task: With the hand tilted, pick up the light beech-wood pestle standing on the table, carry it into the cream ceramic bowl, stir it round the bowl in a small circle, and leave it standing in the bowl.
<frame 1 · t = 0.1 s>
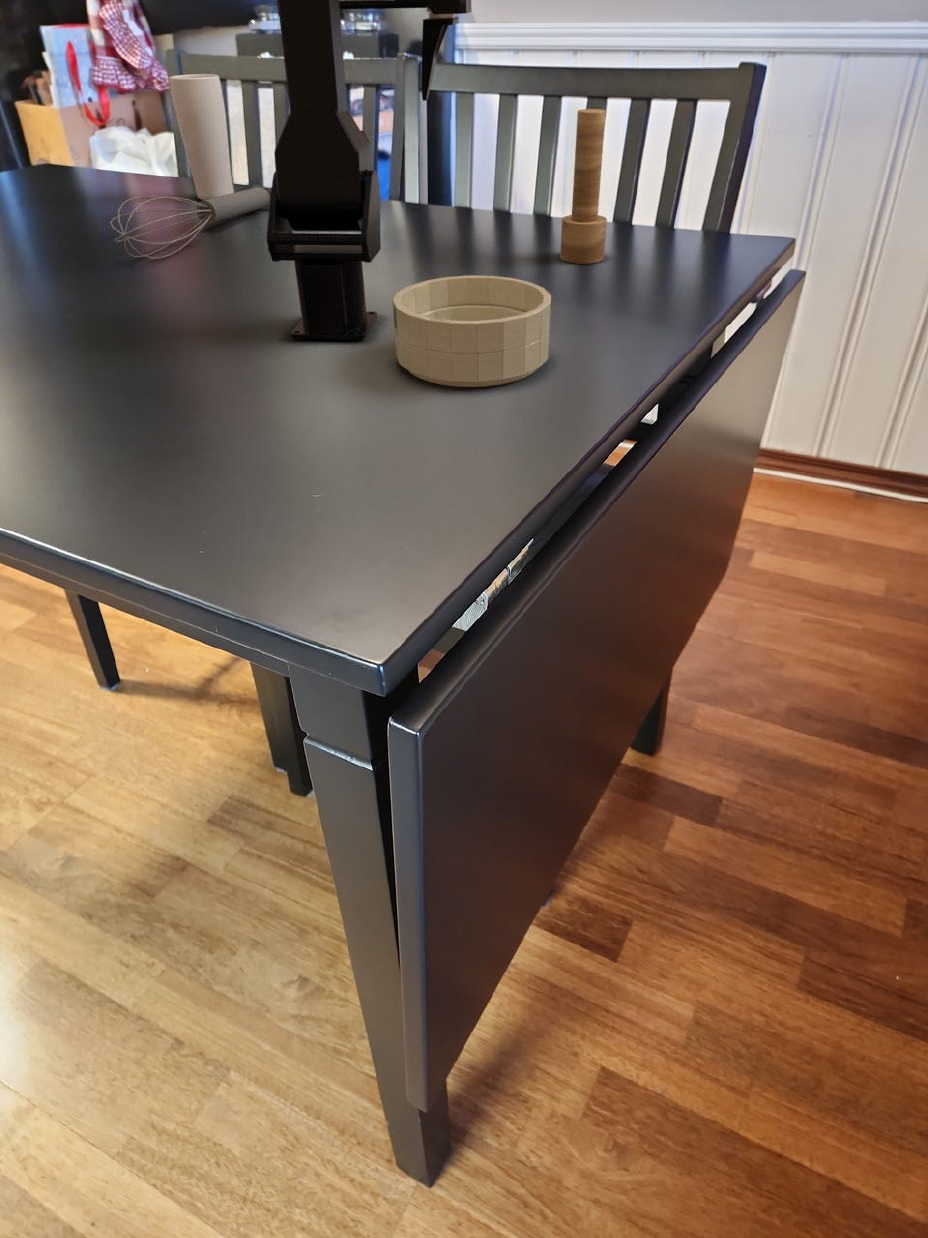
hand: (382, 100, 87), 15 cm above the table, tool pointing down, fingers open, 9 cm apart
pestle: (581, 257, 91), on the table
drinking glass: (216, 199, 121), on the table
kitchen whisk: (205, 234, 104), on the table
bowl: (472, 360, 67), on the table
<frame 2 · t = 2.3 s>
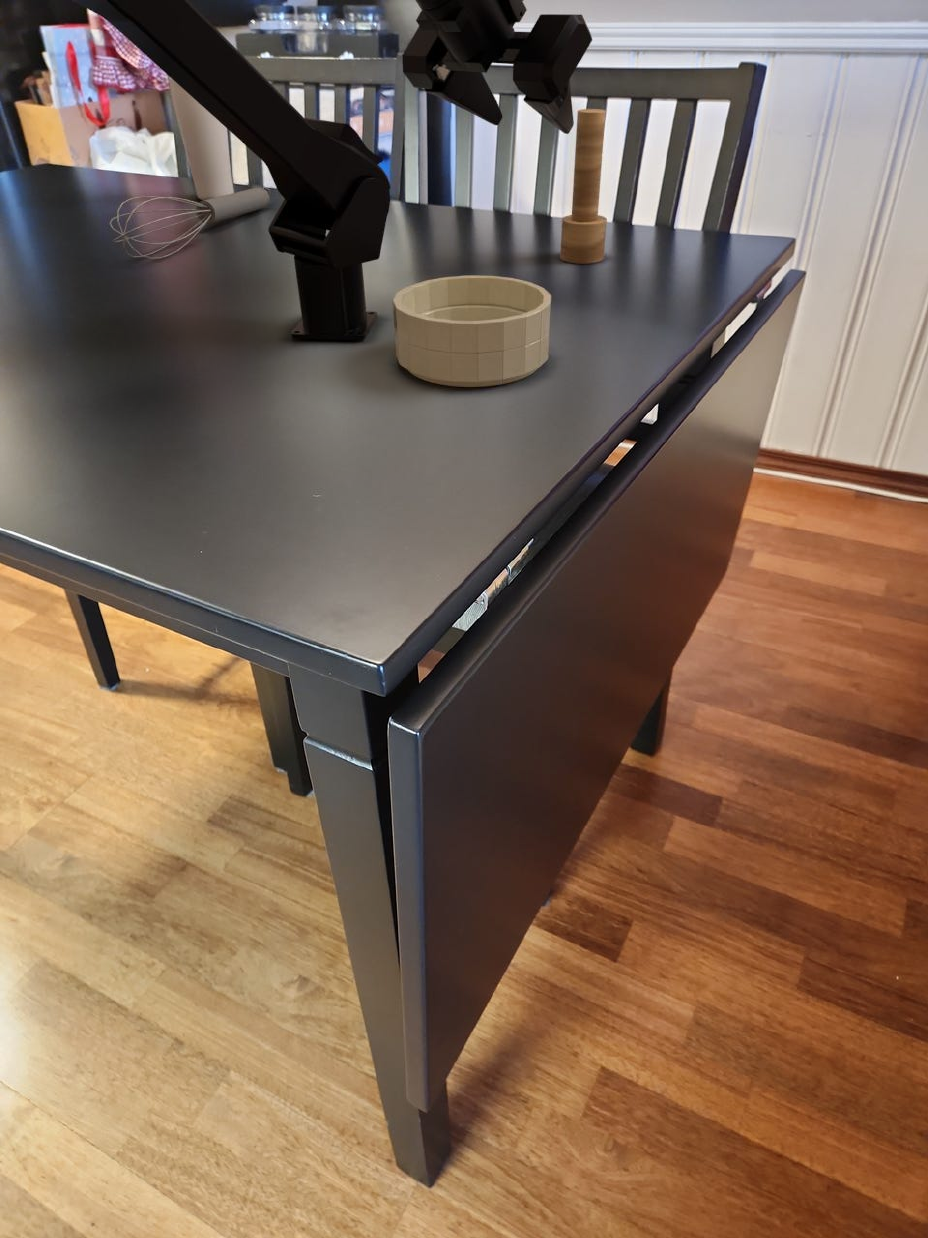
hand: (533, 124, 79), 13 cm above the table, tool tilted 45°, fingers open, 9 cm apart
nothing on the table moved.
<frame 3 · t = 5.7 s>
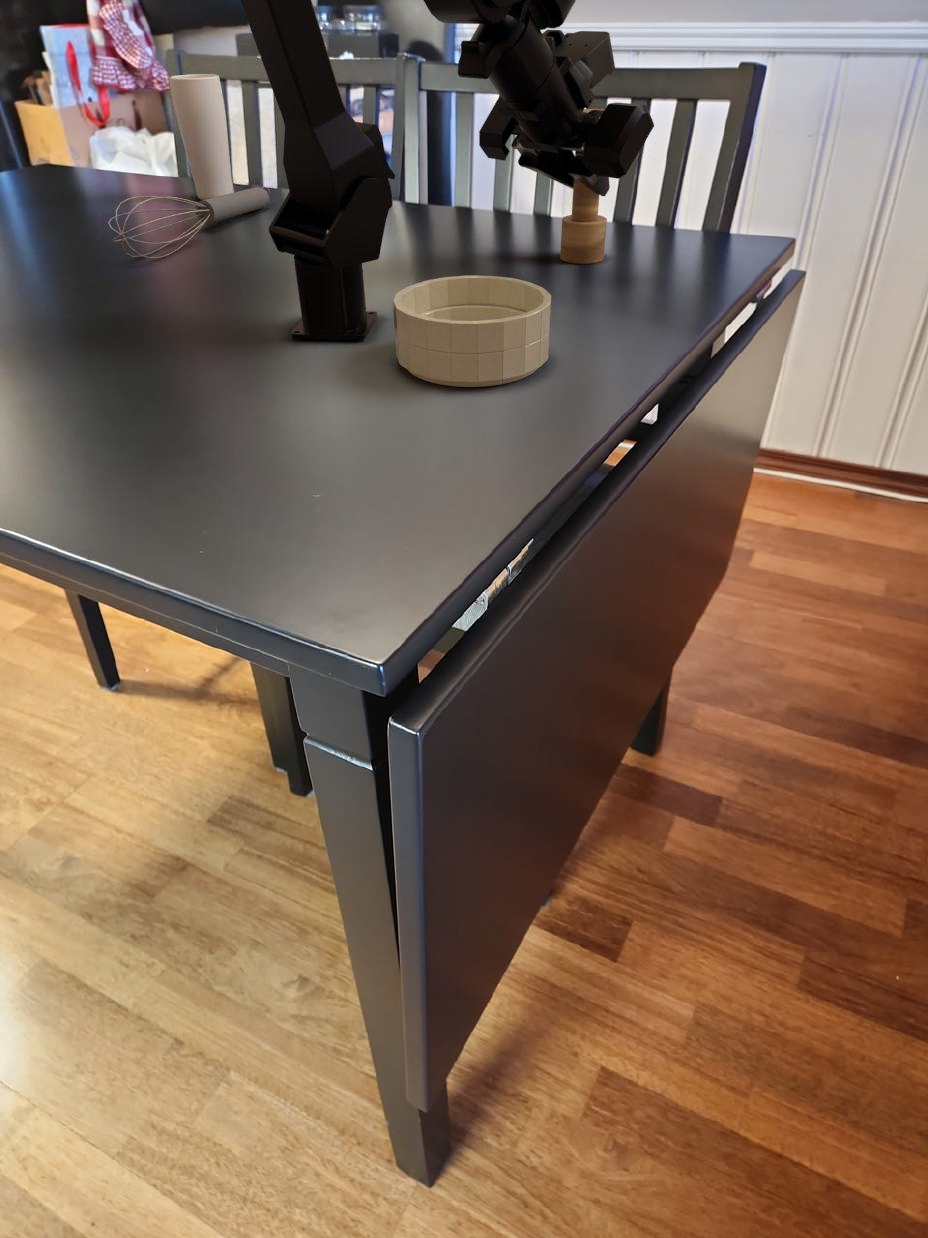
hand: (594, 190, 88), 7 cm above the table, tool tilted 45°, fingers closed on pestle, 3 cm apart
pestle: (581, 257, 91), on the table, touching gripper
everything else where it was.
when the fingers open (7 cm above the table, at t = 18.3 s): pestle moves 2 cm and tips over, resting on bowl.
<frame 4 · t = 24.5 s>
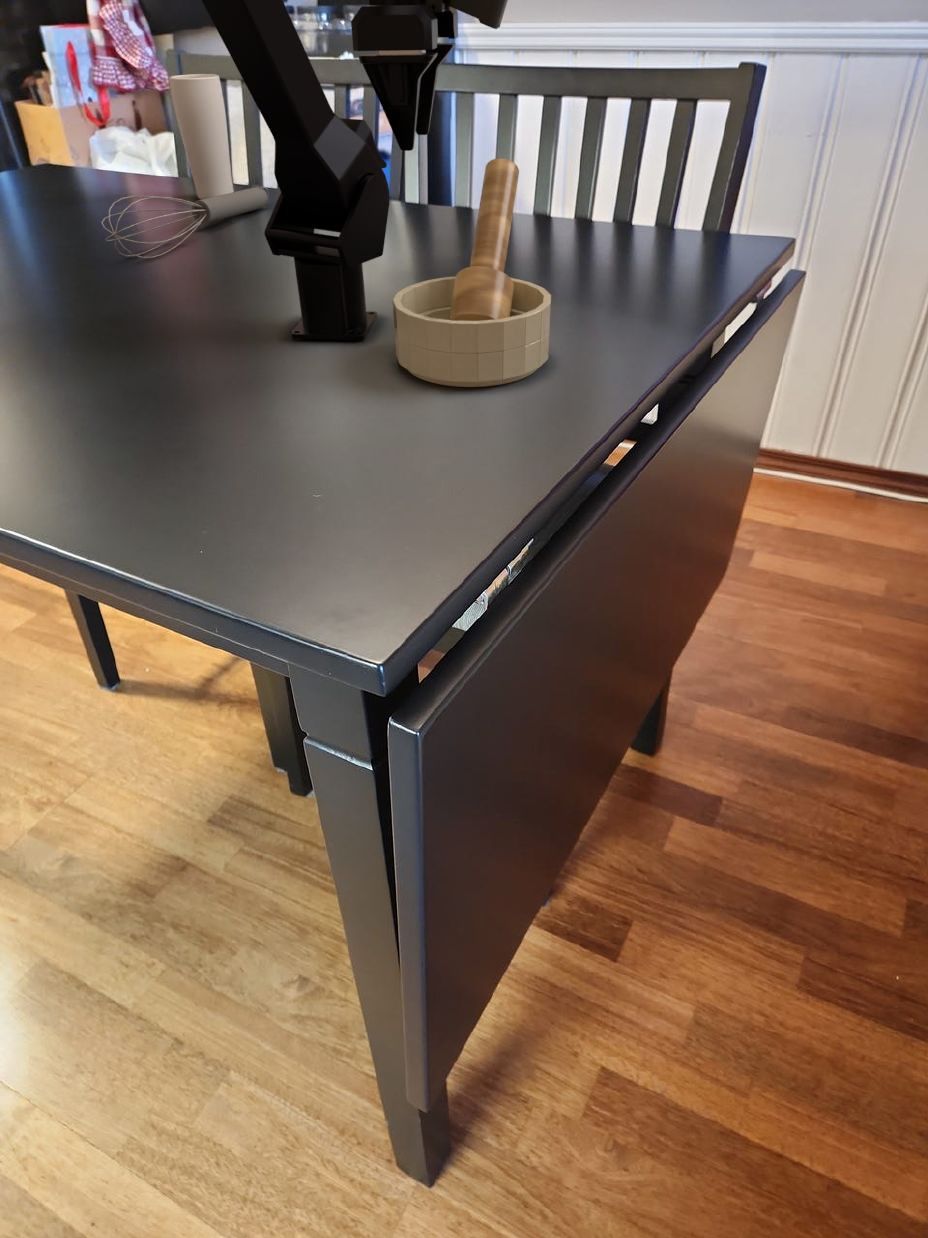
hand: (415, 141, 75), 13 cm above the table, tool pointing down, fingers open, 9 cm apart
pestle: (477, 329, 66), point 2 cm above the table, tilted 46°, touching bowl
everything else where it was.
at the end: pestle inside the target area in the bowl (0.9 cm from its centre), point 2.3 cm above the bowl's base; pestle moved 32.5 cm from its start; the gripper is holding nothing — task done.
